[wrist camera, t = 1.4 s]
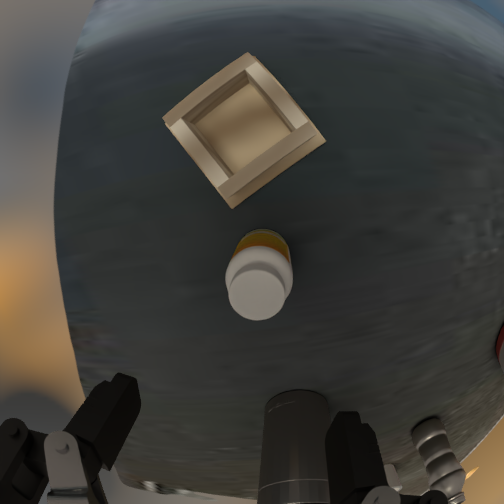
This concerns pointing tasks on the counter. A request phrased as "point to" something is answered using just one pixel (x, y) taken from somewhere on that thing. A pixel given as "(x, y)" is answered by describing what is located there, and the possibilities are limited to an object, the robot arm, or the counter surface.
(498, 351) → the citrus juicer
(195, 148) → the open square wooden box
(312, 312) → the counter surface
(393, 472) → the shot glass
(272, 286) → the supplement bottle
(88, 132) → the counter surface
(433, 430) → the plastic bottle
